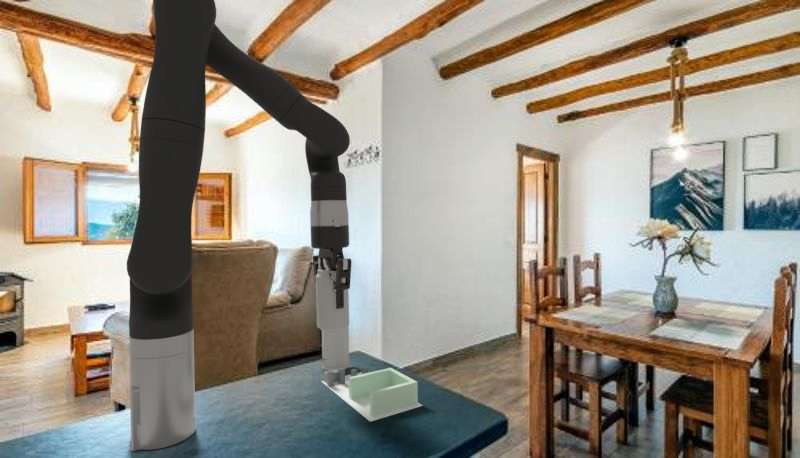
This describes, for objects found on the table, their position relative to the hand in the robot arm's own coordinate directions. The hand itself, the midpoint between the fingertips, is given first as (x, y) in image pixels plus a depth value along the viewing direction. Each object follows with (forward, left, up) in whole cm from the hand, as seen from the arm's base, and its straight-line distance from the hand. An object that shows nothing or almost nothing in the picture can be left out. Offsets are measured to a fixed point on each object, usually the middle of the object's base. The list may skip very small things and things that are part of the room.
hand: (332, 307), depth 83 cm
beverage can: (0, 0, -4) cm, 4 cm away
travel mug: (+6, +14, -18) cm, 24 cm away
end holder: (+6, -9, -17) cm, 20 cm away
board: (+5, -4, -18) cm, 19 cm away
